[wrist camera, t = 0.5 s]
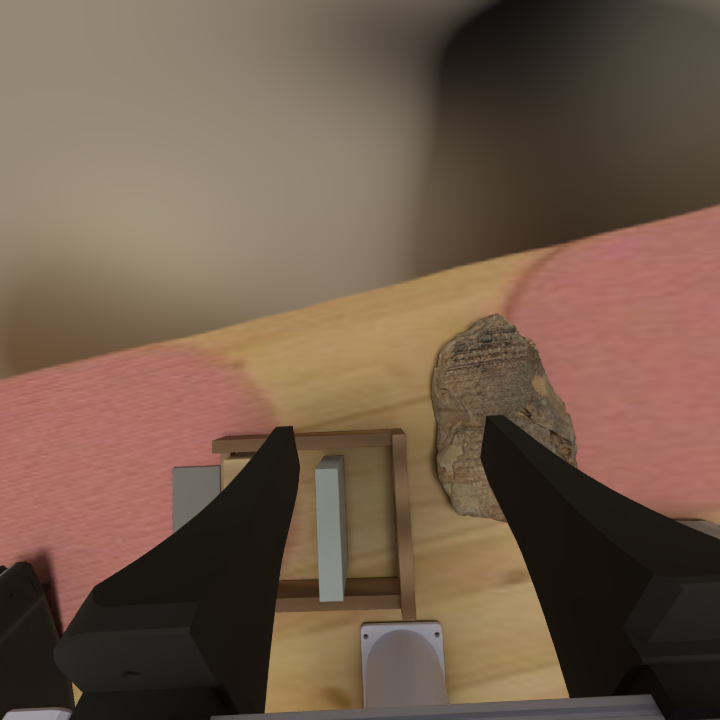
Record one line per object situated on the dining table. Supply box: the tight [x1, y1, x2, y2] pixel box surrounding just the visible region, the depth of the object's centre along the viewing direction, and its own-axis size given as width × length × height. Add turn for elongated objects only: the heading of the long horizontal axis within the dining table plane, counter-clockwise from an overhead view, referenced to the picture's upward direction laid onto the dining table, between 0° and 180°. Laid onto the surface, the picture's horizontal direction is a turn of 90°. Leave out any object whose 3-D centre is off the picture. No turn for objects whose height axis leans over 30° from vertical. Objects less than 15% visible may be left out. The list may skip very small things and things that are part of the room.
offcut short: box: [224, 451, 257, 489], centre depth 34 cm, size 3×3×4 cm
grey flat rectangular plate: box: [173, 465, 221, 534], centre depth 35 cm, size 12×5×1 cm, turn 3°
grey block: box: [315, 455, 348, 602], centre depth 32 cm, size 11×2×6 cm, turn 3°
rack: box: [212, 429, 416, 620], centre depth 33 cm, size 16×19×4 cm
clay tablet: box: [432, 314, 578, 523], centre depth 33 cm, size 14×5×20 cm
